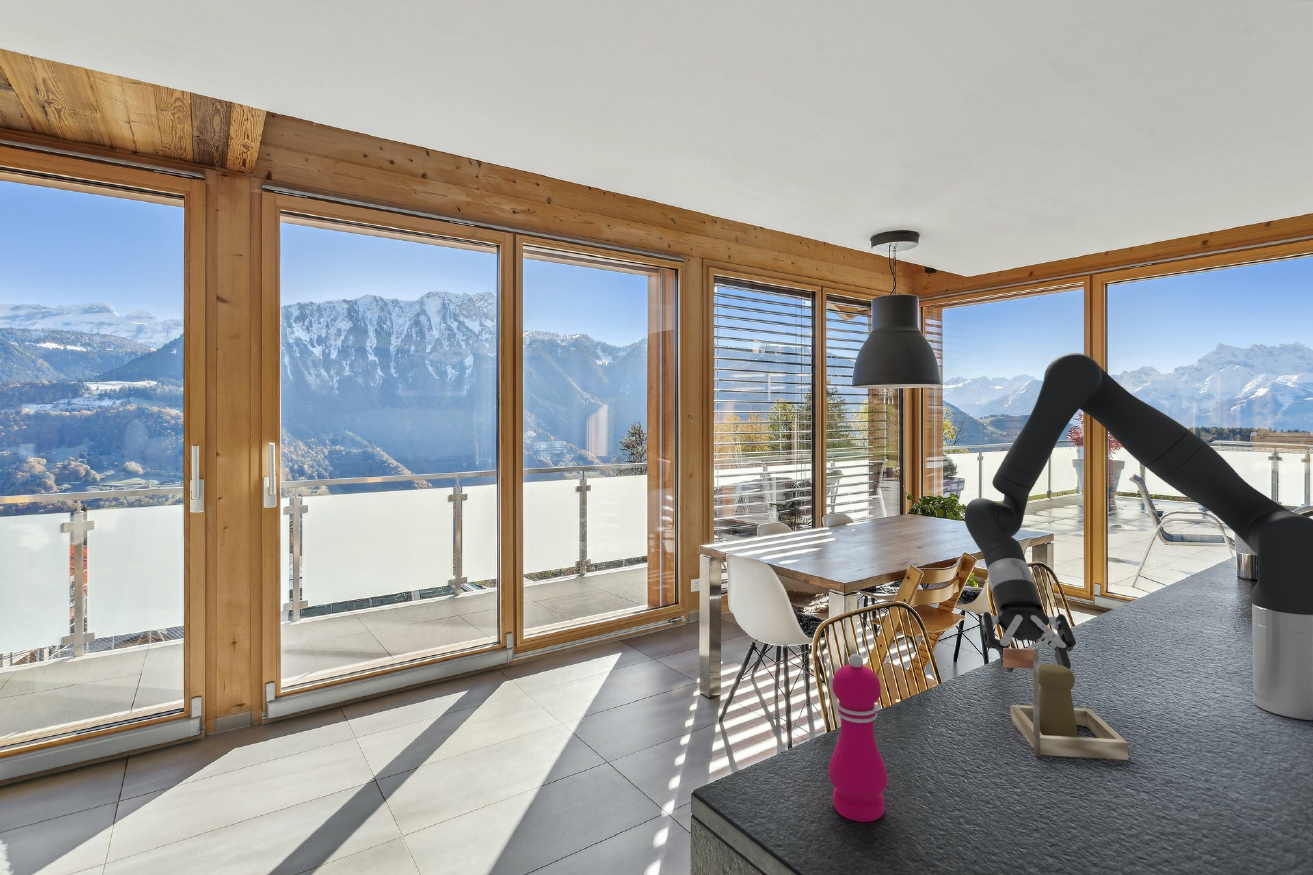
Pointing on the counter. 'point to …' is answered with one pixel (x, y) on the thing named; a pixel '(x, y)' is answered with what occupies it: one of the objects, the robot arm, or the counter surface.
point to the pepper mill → (857, 745)
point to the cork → (1056, 701)
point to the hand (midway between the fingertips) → (1038, 670)
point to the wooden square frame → (1101, 747)
